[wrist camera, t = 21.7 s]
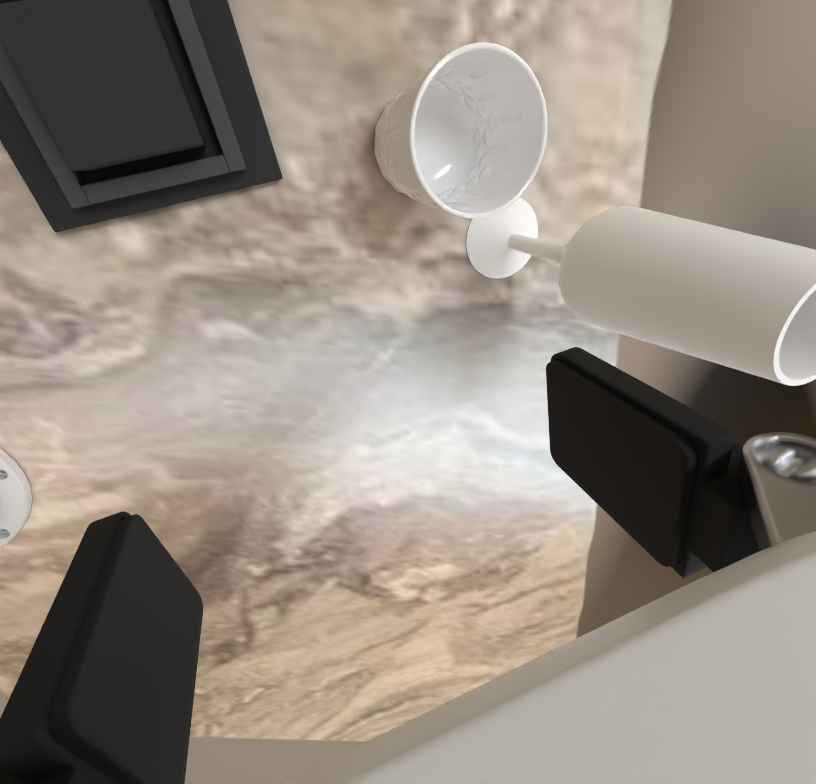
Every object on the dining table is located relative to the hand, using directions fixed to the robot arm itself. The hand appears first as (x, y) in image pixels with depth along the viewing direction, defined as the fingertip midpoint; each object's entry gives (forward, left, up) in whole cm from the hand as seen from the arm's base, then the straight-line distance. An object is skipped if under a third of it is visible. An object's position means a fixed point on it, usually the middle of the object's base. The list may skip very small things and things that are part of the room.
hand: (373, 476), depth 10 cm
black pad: (-6, +11, -25) cm, 28 cm away
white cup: (+11, +5, -26) cm, 29 cm away
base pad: (-6, +11, -26) cm, 29 cm away
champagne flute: (+17, -3, -26) cm, 32 cm away
